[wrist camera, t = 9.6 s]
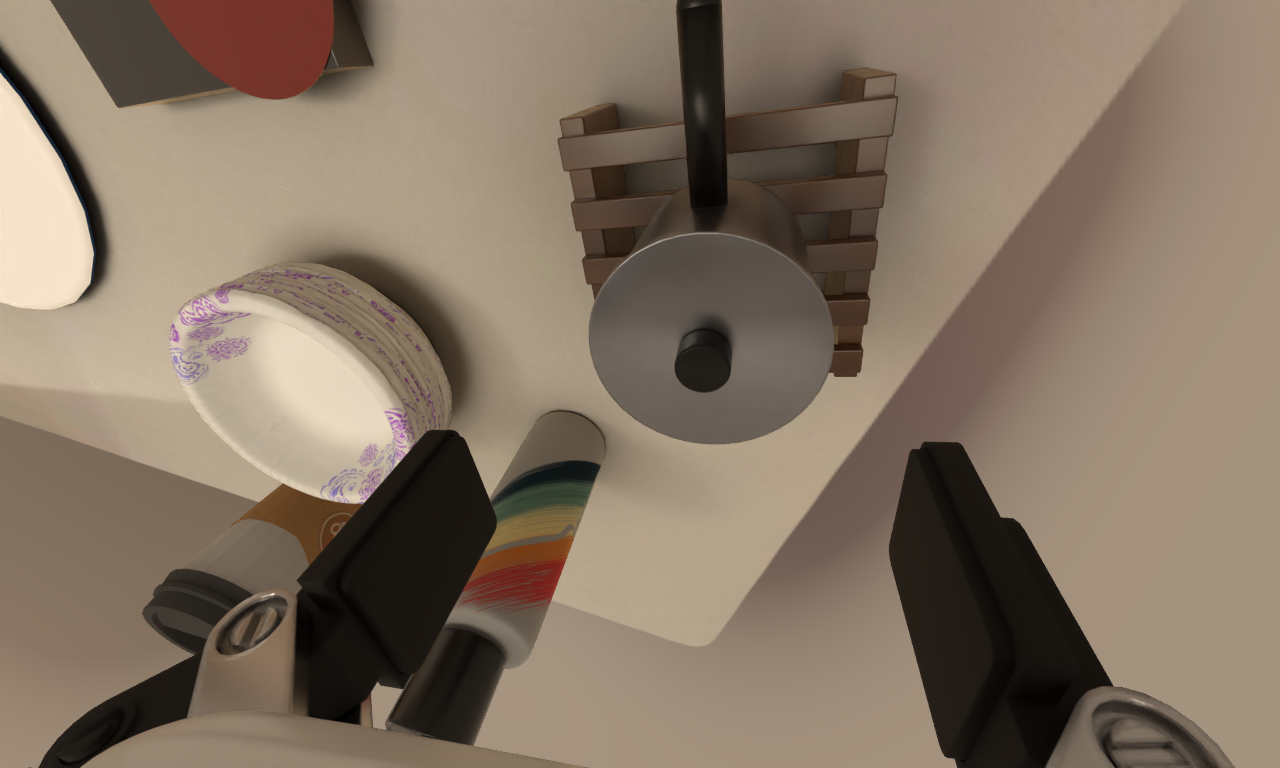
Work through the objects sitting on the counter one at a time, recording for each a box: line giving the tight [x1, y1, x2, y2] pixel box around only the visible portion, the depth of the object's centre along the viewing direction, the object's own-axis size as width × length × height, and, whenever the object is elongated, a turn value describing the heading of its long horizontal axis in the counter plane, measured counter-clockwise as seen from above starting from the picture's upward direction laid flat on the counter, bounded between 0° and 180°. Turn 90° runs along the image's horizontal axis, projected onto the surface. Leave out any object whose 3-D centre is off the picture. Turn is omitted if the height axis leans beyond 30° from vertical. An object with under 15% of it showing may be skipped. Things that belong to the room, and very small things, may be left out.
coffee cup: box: [142, 483, 363, 655], centre depth 38 cm, size 8×8×15 cm
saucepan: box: [589, 0, 834, 444], centre depth 16 cm, size 7×13×8 cm, turn 8°
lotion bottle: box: [385, 411, 605, 746], centre depth 28 cm, size 6×6×20 cm
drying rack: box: [558, 68, 898, 377], centre depth 23 cm, size 12×12×6 cm
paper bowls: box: [169, 262, 452, 504], centre depth 32 cm, size 15×15×8 cm
